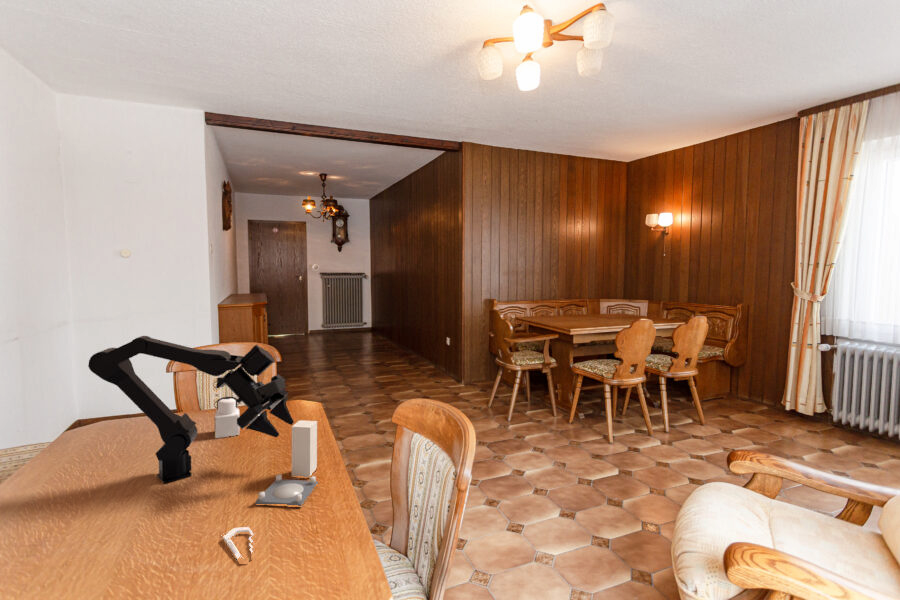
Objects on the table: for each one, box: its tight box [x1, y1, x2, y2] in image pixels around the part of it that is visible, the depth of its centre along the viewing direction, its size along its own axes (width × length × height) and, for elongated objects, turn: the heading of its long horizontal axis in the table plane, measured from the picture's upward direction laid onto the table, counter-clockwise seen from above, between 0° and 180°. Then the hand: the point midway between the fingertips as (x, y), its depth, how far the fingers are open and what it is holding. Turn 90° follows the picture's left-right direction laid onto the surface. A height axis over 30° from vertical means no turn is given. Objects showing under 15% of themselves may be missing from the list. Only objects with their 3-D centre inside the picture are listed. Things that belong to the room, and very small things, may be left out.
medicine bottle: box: [214, 396, 240, 439], centre depth 147 cm, size 7×7×12 cm
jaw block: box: [291, 420, 318, 477], centre depth 120 cm, size 5×5×14 cm
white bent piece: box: [222, 526, 255, 559], centre depth 90 cm, size 13×5×2 cm, turn 43°
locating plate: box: [255, 473, 319, 506], centre depth 110 cm, size 11×11×2 cm
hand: (285, 429), depth 120 cm, fingers open, 9 cm apart
